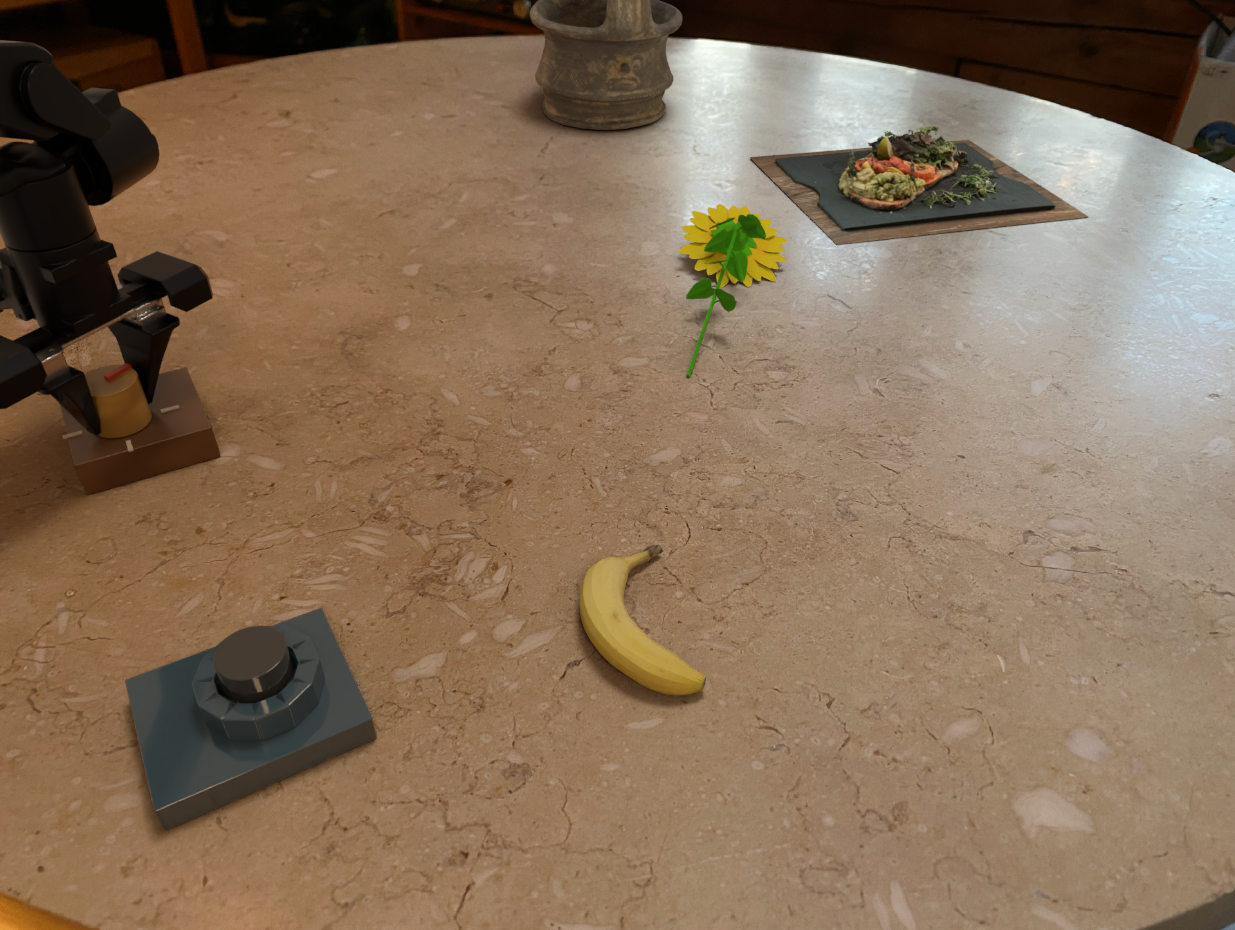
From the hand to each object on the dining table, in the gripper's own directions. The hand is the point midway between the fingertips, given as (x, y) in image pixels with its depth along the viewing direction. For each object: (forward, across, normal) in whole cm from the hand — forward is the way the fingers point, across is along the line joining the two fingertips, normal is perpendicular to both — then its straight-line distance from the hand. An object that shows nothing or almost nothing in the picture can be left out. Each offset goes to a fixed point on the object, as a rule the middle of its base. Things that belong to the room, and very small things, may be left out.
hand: (121, 417), depth 74 cm
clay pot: (+4, -93, -9) cm, 94 cm away
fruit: (+4, -4, +44) cm, 45 cm away
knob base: (+4, +14, +28) cm, 31 cm away
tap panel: (+4, -1, 0) cm, 4 cm away
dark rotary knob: (0, +13, +28) cm, 31 cm away
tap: (0, 0, 0) cm, 0 cm away
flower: (+4, -49, +31) cm, 58 cm away
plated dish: (+4, -89, +39) cm, 98 cm away
